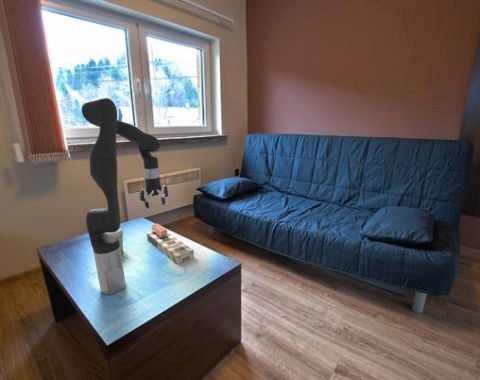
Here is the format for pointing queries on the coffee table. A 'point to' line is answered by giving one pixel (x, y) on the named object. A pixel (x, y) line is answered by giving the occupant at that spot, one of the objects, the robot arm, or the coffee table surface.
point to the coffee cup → (118, 235)
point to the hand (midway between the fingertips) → (155, 206)
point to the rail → (171, 247)
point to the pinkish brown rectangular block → (159, 231)
